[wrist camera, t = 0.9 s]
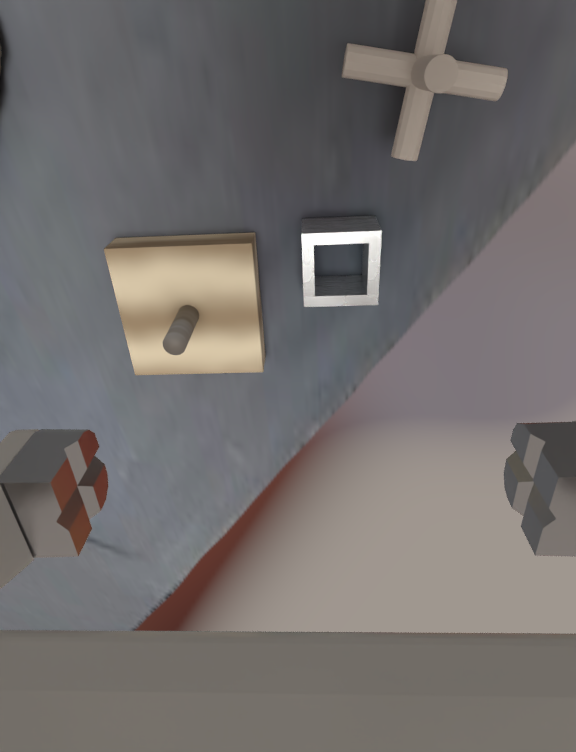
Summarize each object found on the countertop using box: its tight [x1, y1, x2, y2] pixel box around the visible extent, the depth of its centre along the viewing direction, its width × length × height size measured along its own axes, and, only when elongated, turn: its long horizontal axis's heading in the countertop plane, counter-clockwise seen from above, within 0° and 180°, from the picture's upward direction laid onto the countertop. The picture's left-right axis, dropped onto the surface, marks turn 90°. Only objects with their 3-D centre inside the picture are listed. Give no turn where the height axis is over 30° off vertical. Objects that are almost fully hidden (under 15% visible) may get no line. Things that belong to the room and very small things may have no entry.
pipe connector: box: [342, 0, 508, 161], centre depth 31 cm, size 10×10×10 cm
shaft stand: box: [104, 233, 265, 375], centre depth 42 cm, size 12×12×8 cm
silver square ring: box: [302, 216, 382, 307], centre depth 41 cm, size 6×6×4 cm
